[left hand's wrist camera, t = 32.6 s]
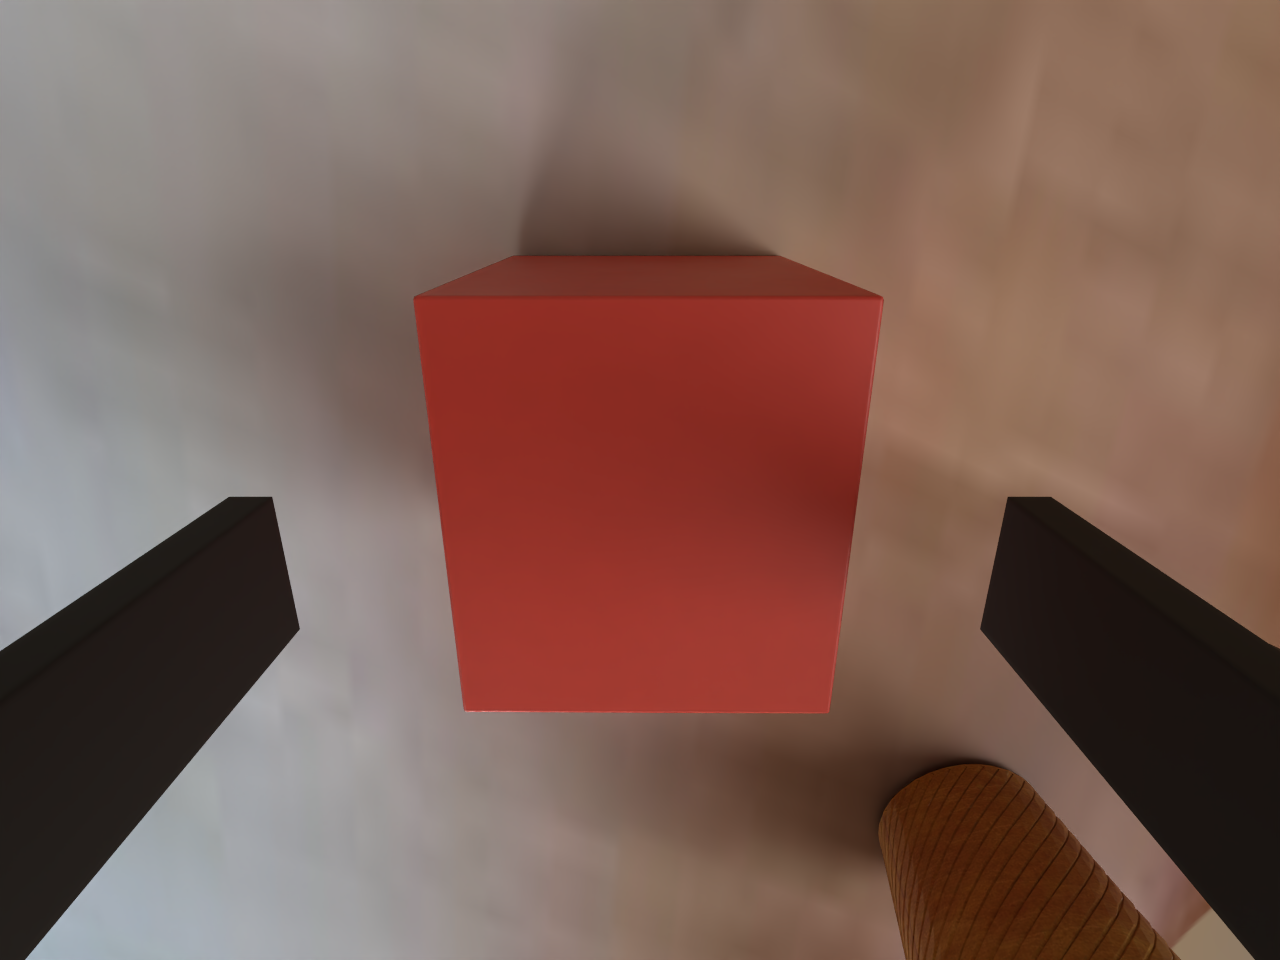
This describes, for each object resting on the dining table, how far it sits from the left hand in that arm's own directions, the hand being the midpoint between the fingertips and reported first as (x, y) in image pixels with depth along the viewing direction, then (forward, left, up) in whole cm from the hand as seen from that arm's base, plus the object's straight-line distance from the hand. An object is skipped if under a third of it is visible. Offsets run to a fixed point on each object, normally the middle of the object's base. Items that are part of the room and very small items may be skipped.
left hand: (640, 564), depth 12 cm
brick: (0, 0, -9) cm, 9 cm away
